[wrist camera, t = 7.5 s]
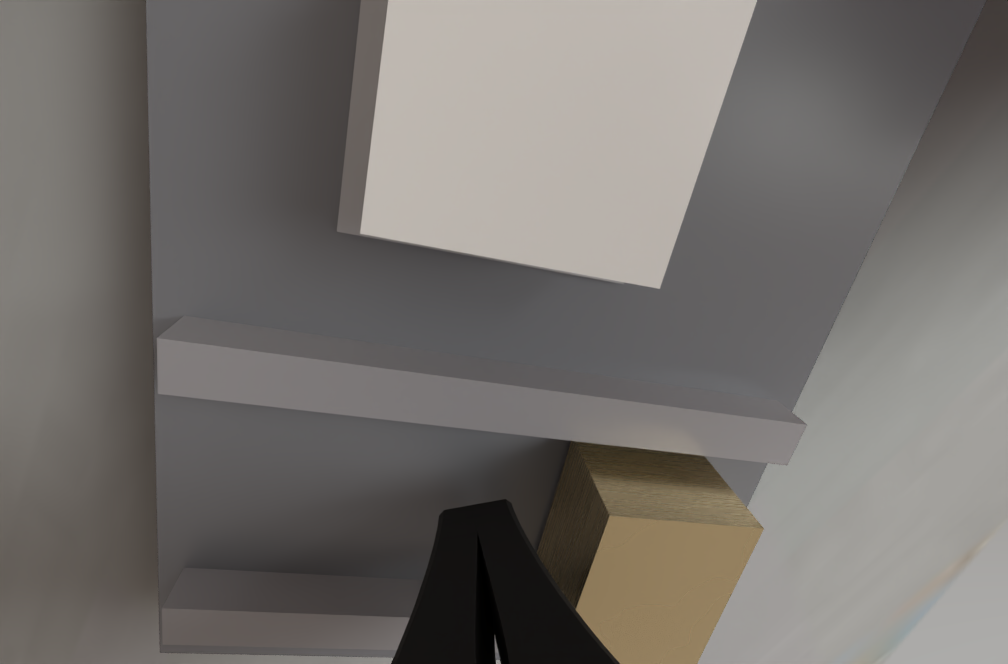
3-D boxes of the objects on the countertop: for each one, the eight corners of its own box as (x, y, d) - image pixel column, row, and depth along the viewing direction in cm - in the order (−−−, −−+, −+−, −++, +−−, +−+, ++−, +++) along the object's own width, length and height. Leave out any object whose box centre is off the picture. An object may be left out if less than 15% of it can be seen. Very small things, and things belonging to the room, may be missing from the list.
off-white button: (675, -5, 8) (775, -55, 6) (602, 247, 9) (659, 288, 7) (415, -86, 7) (410, -183, 5) (378, 203, 9) (360, 232, 6)
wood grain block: (699, 450, 12) (764, 528, 9) (644, 584, 13) (688, 679, 11) (572, 435, 11) (609, 515, 9) (528, 577, 12) (551, 677, 10)
